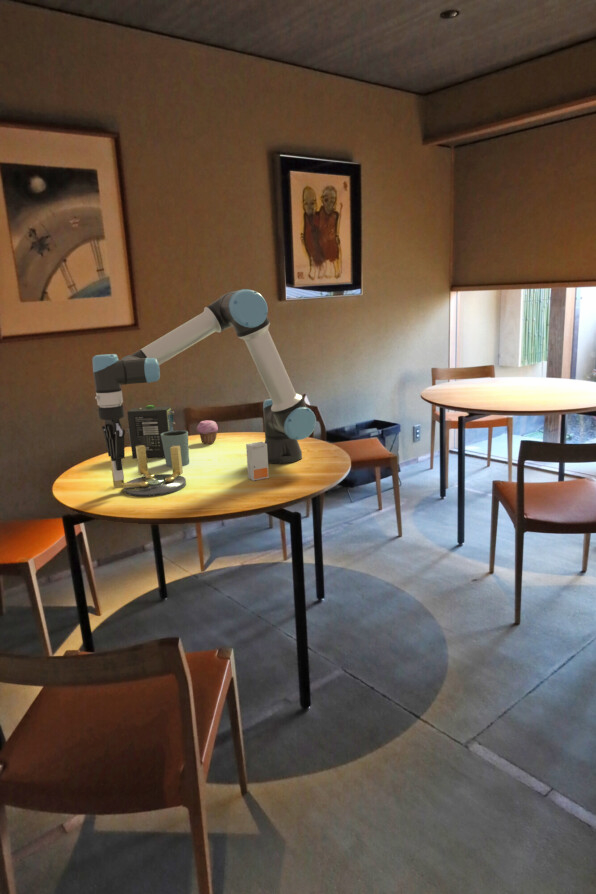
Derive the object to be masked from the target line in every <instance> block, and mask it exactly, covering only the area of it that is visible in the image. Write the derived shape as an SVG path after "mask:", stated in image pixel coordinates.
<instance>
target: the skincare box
mask: <svg viewBox="0 0 596 894" xmlns="http://www.w3.org/2000/svg"><path fill="white" fill-rule="evenodd" d="M245 445H246V446H245V447H246V448H245V449H246V463H247V465H246V466H247V478H248V479H249V480H251V481H259V480H265V479H269V478H270V477H269V463H268V453H267V444H266V443H265V441H258V442H257V441H256V442H251V443H246V444H245Z"/></svg>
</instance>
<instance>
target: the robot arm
mask: <svg viewBox="0 0 596 894" xmlns="http://www.w3.org/2000/svg"><path fill="white" fill-rule="evenodd" d="M268 312H269V308H268V304H267V301H266V300H265V298H264V297H263V295H262V294H261V293H259V292H258V291H256V290H252V289H249V288H248V289H247V288H242V289H239V290H231V291H228V292H226V293H225V294H223V295H221V296H220V297H218V299H217V298H216V300H215V301H212V302H211V303H210V304H208V305H207V306H205V307H204V308H203V312H201V313H199V314H198V315H196V316H195V317H193V318H191V319H190V320H188V321H186V322H184V323H183V324H180V325H179V326H178V327H176V328H174V329H172V330H170V331H169V332H167V333H166V334H164V335H162V336H161V337H159V338H158V339H156V340H154V341H152V342H151V343H149V344H147V345H146V346H144V347H143V348H140V349H139V350H137V351H136V352H134V353H133V354H130V355H129V354H128V355H126V356H124V357H122V358H121V359H119V356H118V355H117V354H116V353H111V354H110V353H109V354H108V353H106V354H97V355H94V356H93V357H92V359H91V360H92V361H91V362H92V372H93V373H92V375H93V380H94V389H95V395H96V396H94V399H95V400H96V404H97V406H98V407H97V415H98V419H100V420H102V421H104V425H102V426H101V430H102V432H103V436H104V441H105V446H106V450H107V454H108V457H110V461H111V460H112V466H113V474H114V480H115V481H118V480H123V479H124V480H125V474H124V466H123V459H125V456H126V455H125V450H126V449H125V435H126V430H125V429H122V424H121V422H120V419H122V418H124V417H125V411H124V410H125V409H124V406H123V405H122V404H123V403H124V398H123V391H122V386H123V385H124V386H126V385H134V384H145V383H146V384H150V383H154V382H158V381H159V380H160V377H161V369H160V365H162V364H164V363H166V362H167V361H169V360H171V359H172V358H174V357H175V356H177V355H178V354H181V353H182V352H184V351H186V350H188V349H189V348H190V347H192V346H194V345H196V344H198V343H199V342H201V341H202V340H204V339H206V338H208V337H209V336H210V335H212V334H214V333H216V332H217V333H222V332H223V331H225V330H227V329H230V328H232V327H233V330H234V332H235V333H236V335H237V336H236V337H237V338H239V339H241V340H243V341H244V343H245V345H246V347H247V349H248V351H249V353H250V356H251V358H252V360H253V362H254V364H255V366H256V369H257V371H258V373H259V376H260V378H261V380H262V382H263V384H264V387H265V388H266V391H267V392H268V395H269V397H270V398H269V399H268V398H266V399H265V400H264V401H263V405H262V406H263V407H262V411H263V412H262V413H263V421H264V422H263V423H264V425H263V426H264V443H266V444H267V453H268V464H289V463H290V464H291V463H295V462H298V461H300V460H301V459H303V453H302V452H303V451H302V449H301V446H300V443H299V440H300V441H301V440H305V439H306V438H309V437H310V436H311V435H312V433H313V432H314V430H315V428H316V425H317V417H316V415H315V413H314V411H312V409H311V408H309V407H308V406H307V405H306V402H305V400H304V397H303V396H302V394H300V393H297V392H296V390H295V388H294V385H293V384H292V381H291V379H290V377H289V375H288V371H287V370H286V367H285V365H284V363H283V360H282V359H281V356H280V354H279V351H278V349H277V347H276V344H275V342H274V340H273V338H272V336H271V333H270V331H269V328H270V324H271V322H270V319H269V316H268ZM299 459H300V460H299Z"/></svg>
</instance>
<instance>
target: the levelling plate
mask: <svg viewBox="0 0 596 894" xmlns="http://www.w3.org/2000/svg"><path fill="white" fill-rule="evenodd" d="M171 474H172V473H168V474H167V473H164V474H163V473H161V474H154V477H155V478H151V479H148V480H147V479H146V477H145V476H144V475H143V476H140V477H137V478H133V479H131V480H129V481H127V482H126V483H138V482H143V481H147V482H148V487H126V488H123V492H124V493H125V494H126V495H128V496H130V497H131V496H132V497H140V498H141V497H143V498H144V497H147V498H148V497H159V496H165V495H169V494H172V493H175V492H178V491H180V490H182V489H184V488H186V486H187V482H186V478H185V477H184V476H183V475H178V476H177V477H176V478H175V479H174V481H173V482H166V480H165V478H166V477H169V476H170V475H171Z"/></svg>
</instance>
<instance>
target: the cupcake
mask: <svg viewBox="0 0 596 894" xmlns="http://www.w3.org/2000/svg"><path fill="white" fill-rule="evenodd" d="M196 431H197V433H198V434H199V437H200V442H201V443H202V444H205V445H212V444H214V443H215V441H217V440H216V439H217V433H218V432H219V428H218V424H217V422H216V421H214V420H207V419H206V420H201V421H200V422H199V423H198V425H197V426H196Z"/></svg>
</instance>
